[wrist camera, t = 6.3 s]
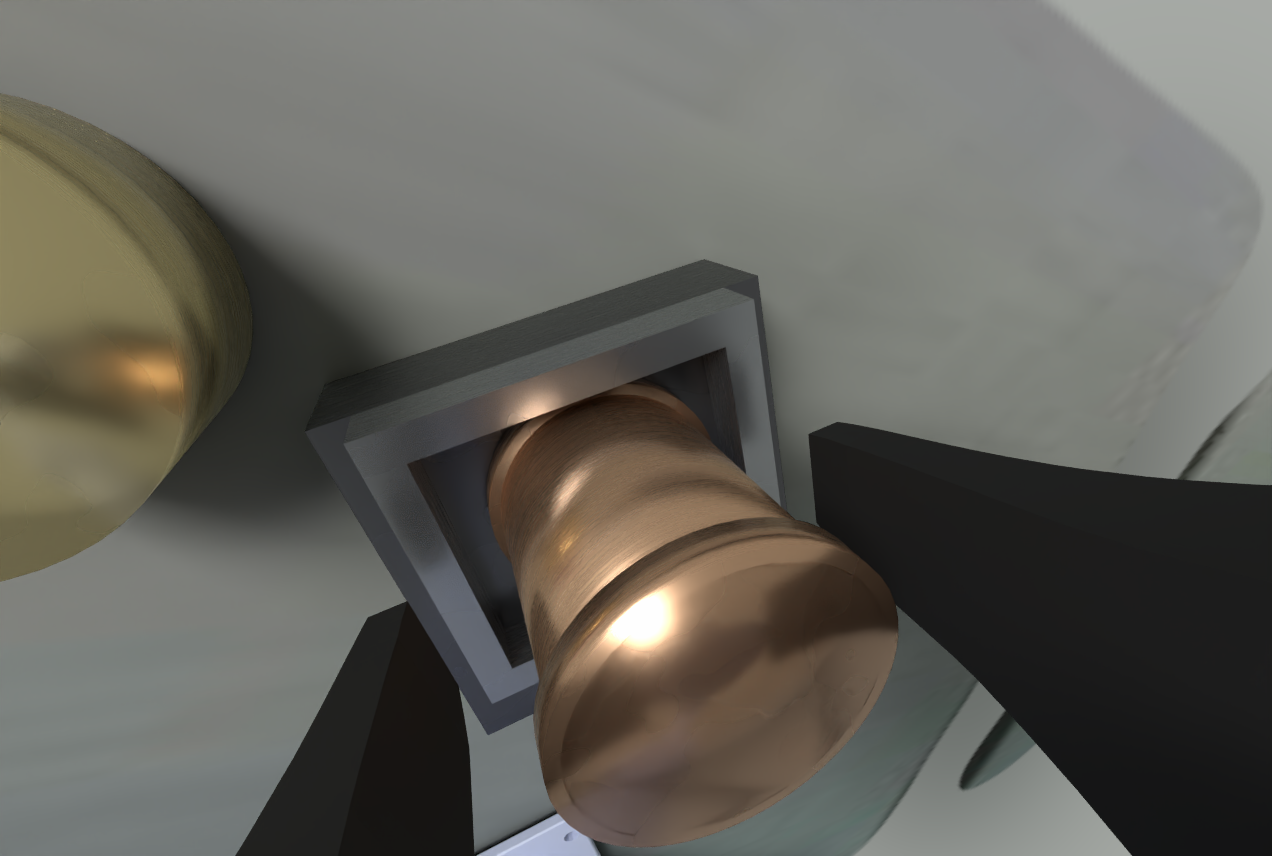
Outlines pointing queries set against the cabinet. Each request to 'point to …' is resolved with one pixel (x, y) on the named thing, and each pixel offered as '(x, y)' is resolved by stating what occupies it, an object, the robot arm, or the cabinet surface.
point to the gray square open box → (506, 395)
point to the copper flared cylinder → (677, 621)
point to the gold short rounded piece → (101, 332)
